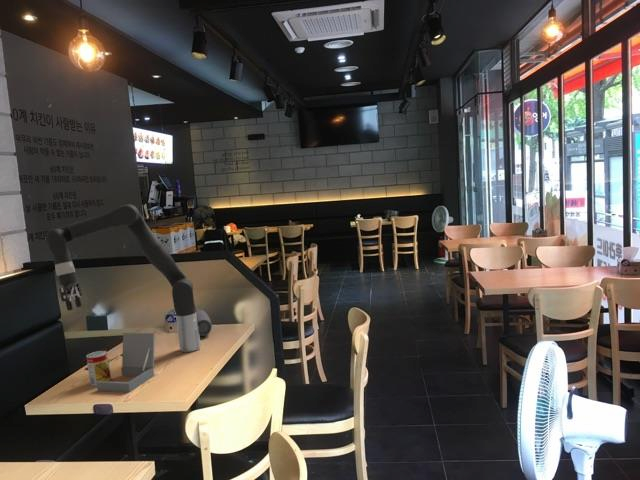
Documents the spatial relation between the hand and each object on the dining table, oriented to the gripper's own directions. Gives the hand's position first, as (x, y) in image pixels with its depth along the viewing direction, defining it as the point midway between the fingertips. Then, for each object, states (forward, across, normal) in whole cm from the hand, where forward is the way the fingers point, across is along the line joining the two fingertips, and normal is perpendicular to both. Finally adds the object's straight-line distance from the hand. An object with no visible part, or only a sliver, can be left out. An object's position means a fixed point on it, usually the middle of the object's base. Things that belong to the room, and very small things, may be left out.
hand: (75, 308), depth 233 cm
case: (+32, -21, -25) cm, 46 cm away
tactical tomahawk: (+28, +6, -6) cm, 30 cm away
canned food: (+31, -19, -12) cm, 38 cm away
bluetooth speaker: (+30, +41, -42) cm, 65 cm away
